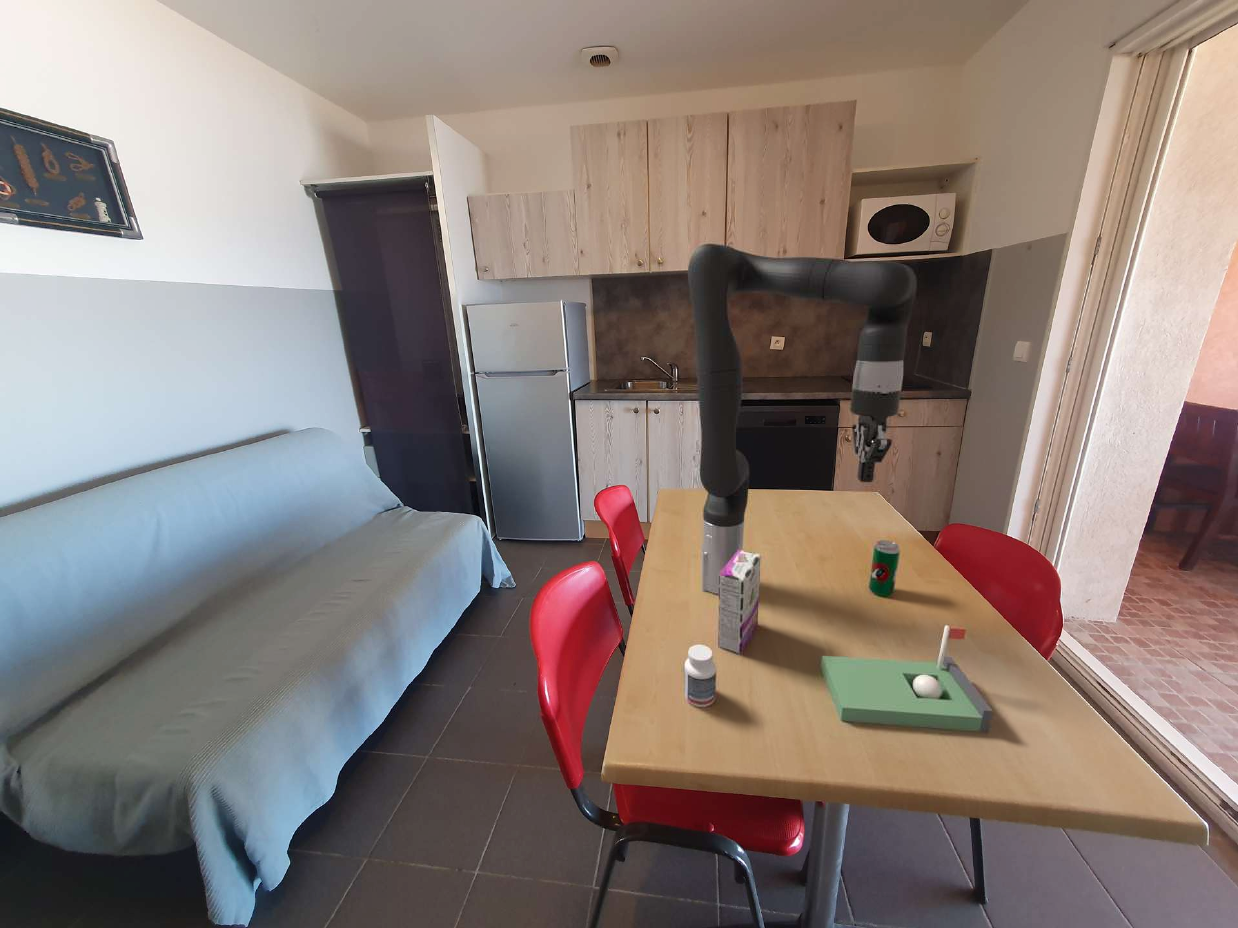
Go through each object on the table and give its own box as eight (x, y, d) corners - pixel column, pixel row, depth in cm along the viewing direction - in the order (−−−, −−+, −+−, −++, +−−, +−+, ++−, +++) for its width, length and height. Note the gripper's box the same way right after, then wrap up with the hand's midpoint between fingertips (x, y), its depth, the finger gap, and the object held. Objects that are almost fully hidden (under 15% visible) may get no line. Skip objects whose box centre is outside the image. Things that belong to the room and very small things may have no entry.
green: (840, 720, 76) (848, 662, 72) (820, 667, 87) (826, 615, 84) (991, 732, 72) (1006, 672, 69) (950, 675, 84) (961, 622, 81)
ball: (951, 701, 76) (926, 710, 77) (938, 683, 80) (915, 692, 81) (939, 682, 76) (915, 692, 77) (927, 665, 79) (904, 675, 80)
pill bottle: (721, 703, 80) (722, 659, 77) (692, 711, 78) (693, 666, 76) (706, 681, 85) (707, 639, 82) (679, 688, 83) (679, 645, 81)
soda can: (896, 598, 107) (904, 550, 103) (872, 596, 108) (878, 548, 104) (889, 586, 111) (896, 540, 108) (865, 584, 112) (872, 538, 109)
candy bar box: (734, 617, 102) (737, 548, 97) (758, 624, 100) (762, 553, 95) (715, 647, 93) (718, 572, 88) (740, 655, 91) (744, 579, 86)
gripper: (841, 382, 89) (832, 469, 95) (867, 392, 77) (855, 493, 82) (884, 381, 88) (873, 470, 93) (917, 392, 76) (901, 494, 81)
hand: (864, 480), depth 88 cm, fingers closed
